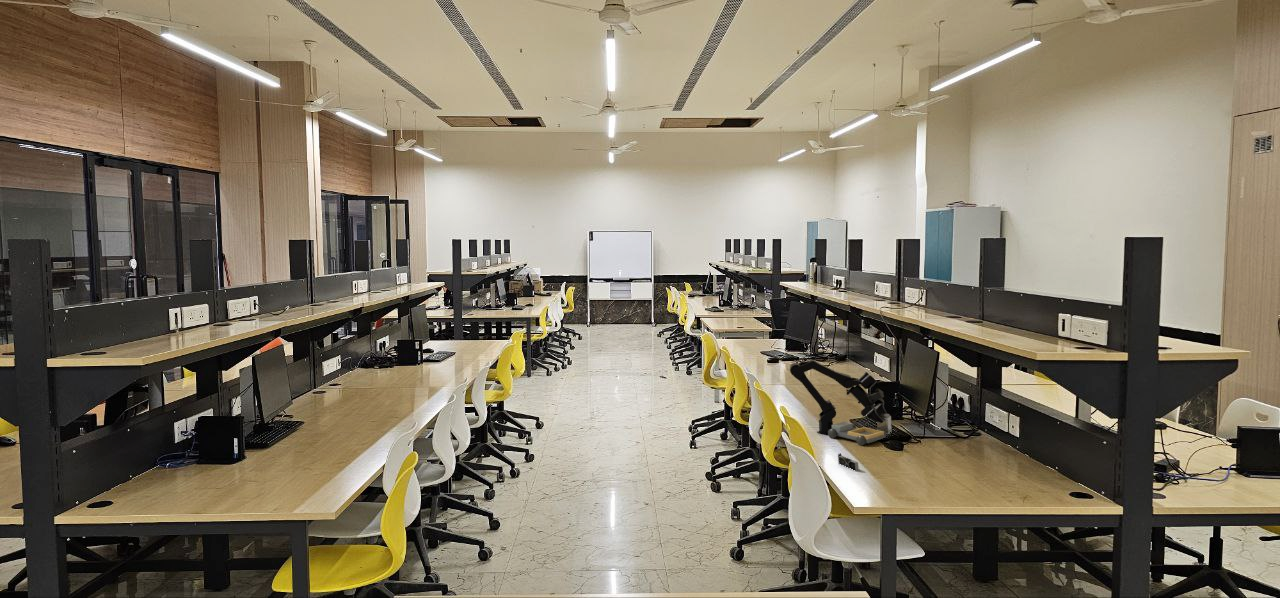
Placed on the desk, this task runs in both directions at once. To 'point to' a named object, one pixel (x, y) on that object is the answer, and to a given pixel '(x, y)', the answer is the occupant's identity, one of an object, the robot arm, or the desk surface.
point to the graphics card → (848, 462)
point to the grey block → (884, 423)
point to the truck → (856, 433)
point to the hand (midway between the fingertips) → (885, 420)
